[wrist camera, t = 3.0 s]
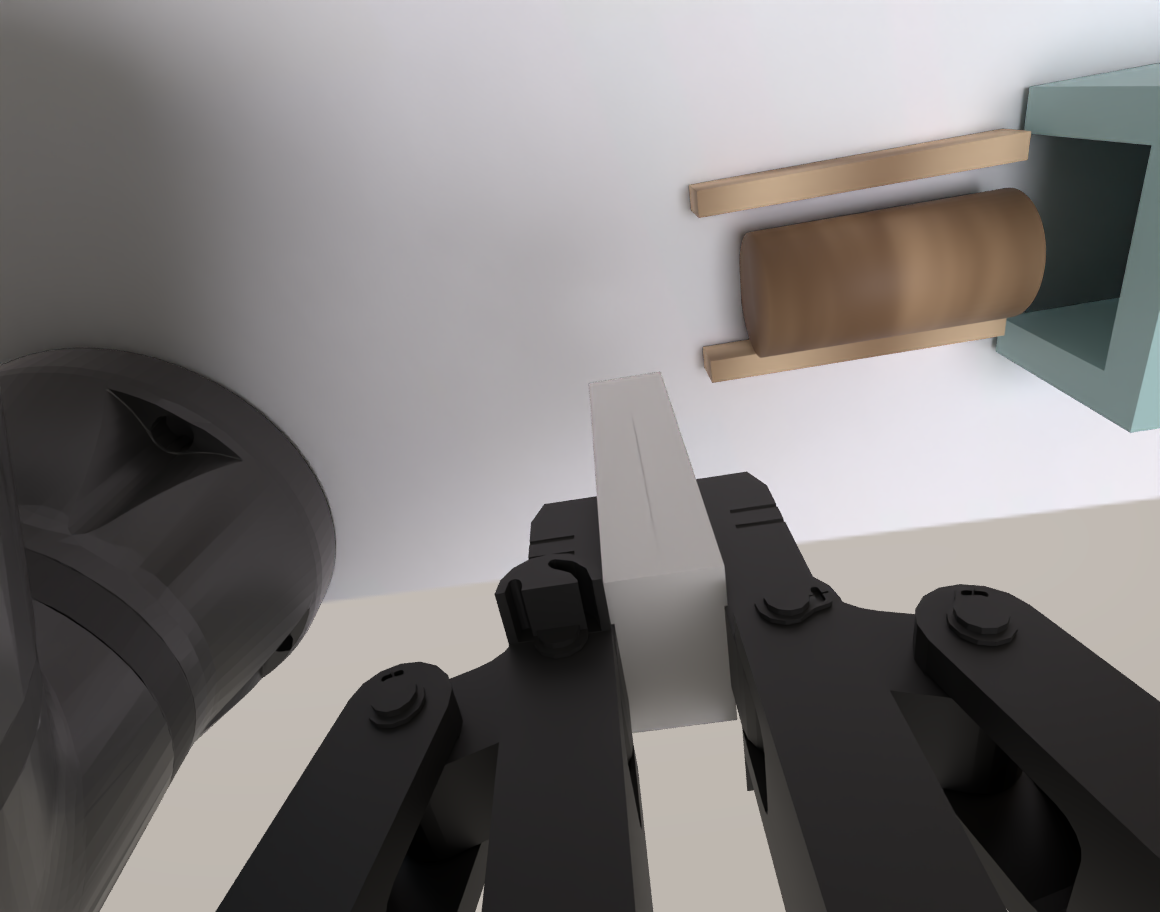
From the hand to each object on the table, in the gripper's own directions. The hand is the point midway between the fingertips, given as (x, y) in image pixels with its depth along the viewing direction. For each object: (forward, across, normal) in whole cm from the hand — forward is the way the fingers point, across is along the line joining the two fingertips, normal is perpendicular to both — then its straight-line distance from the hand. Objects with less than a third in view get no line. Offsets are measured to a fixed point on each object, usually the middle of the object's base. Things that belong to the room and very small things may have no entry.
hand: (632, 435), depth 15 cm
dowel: (+11, +9, 0) cm, 14 cm away
